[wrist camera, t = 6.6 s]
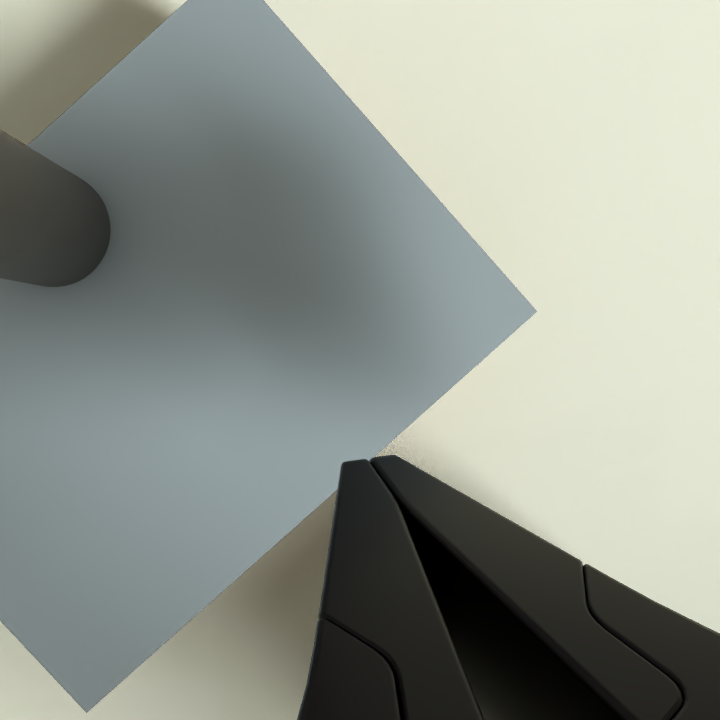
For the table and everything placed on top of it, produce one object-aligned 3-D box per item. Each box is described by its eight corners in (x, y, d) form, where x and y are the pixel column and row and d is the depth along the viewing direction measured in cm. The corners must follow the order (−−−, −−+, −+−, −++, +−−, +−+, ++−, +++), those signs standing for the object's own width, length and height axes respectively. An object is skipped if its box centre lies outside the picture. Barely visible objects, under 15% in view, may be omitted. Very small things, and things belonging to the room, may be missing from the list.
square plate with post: (527, 313, 15) (734, 276, 7) (100, 693, 15) (-196, 1100, 7) (236, -18, 15) (87, -472, 7) (-197, 375, 15) (-870, 412, 7)
